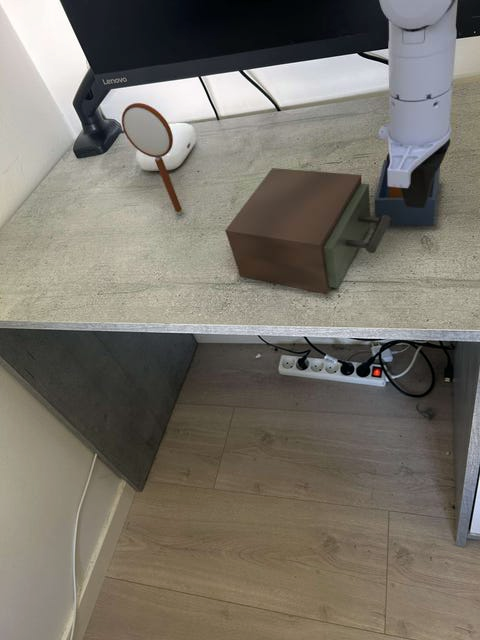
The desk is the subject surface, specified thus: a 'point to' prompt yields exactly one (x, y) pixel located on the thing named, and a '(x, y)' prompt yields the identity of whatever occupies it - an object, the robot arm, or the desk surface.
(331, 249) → the drawer
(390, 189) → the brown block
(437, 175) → the open box
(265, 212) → the cabinet
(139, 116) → the magnifying glass
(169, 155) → the earbud case
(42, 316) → the desk surface
